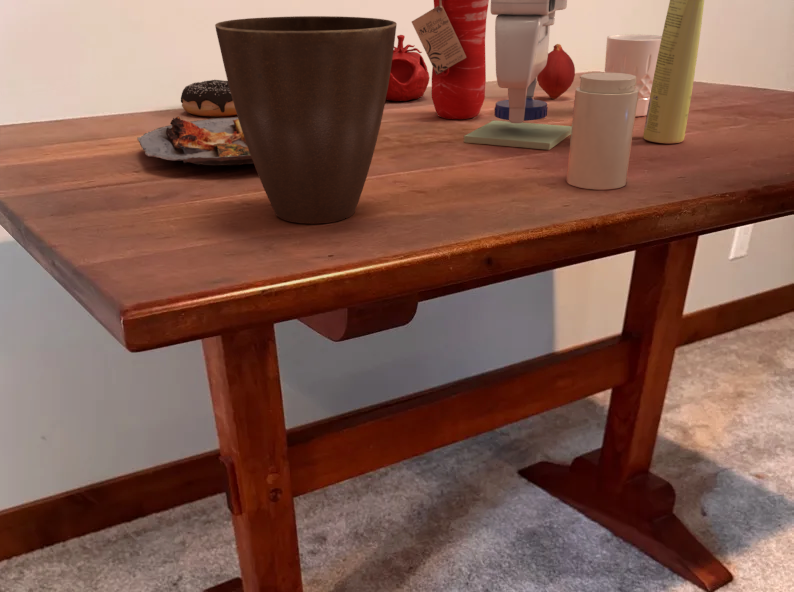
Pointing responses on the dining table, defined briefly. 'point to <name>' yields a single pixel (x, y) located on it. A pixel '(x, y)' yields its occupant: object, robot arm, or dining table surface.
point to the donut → (208, 99)
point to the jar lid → (533, 109)
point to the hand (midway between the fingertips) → (521, 116)
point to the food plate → (199, 142)
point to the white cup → (634, 62)
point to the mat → (519, 134)
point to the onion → (557, 73)
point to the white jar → (602, 130)
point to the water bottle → (456, 55)
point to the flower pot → (309, 106)
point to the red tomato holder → (407, 74)
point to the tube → (674, 73)
